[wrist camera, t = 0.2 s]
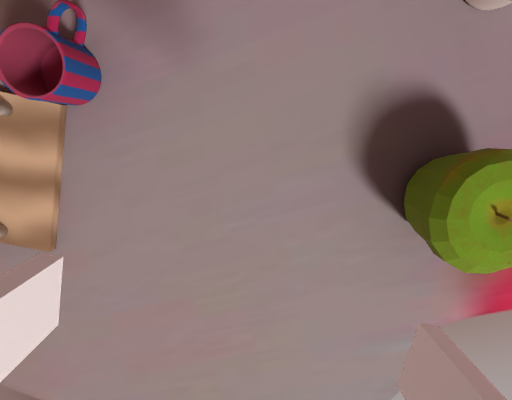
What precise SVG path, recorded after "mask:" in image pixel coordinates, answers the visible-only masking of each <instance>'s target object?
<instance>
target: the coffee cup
mask: <svg viewBox="0 0 512 400" xmlns="http://www.w3.org/2000/svg"><path fill="white" fill-rule="evenodd" d="M465 1H466V2H467V3H468V4H470V5H471V6H472V7H474V8H477V9H481V10H493V9H497V8H500V7H503V6H505V5H508V4H510V3H512V0H465Z"/></svg>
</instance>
